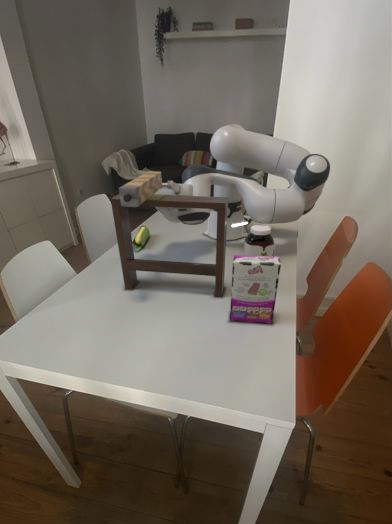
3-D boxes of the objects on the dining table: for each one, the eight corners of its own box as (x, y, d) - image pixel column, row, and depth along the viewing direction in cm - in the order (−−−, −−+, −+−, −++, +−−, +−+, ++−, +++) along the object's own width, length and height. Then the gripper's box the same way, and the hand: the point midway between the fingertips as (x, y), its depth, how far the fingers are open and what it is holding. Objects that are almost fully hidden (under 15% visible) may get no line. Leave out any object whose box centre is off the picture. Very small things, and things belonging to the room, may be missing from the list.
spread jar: (244, 265, 112) (247, 231, 104) (240, 253, 121) (242, 221, 113) (278, 264, 112) (284, 231, 105) (271, 252, 121) (276, 221, 114)
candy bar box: (271, 314, 86) (280, 255, 76) (272, 324, 82) (282, 264, 72) (229, 311, 87) (233, 253, 77) (228, 321, 83) (232, 261, 73)
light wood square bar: (149, 186, 92) (147, 171, 90) (162, 187, 92) (161, 171, 89) (119, 207, 75) (116, 188, 72) (135, 208, 74) (133, 189, 72)
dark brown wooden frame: (131, 280, 103) (118, 192, 87) (223, 287, 98) (228, 196, 82) (125, 289, 98) (110, 198, 82) (221, 297, 94) (225, 202, 78)
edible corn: (151, 235, 138) (150, 224, 135) (143, 252, 122) (142, 240, 120) (139, 234, 138) (138, 224, 136) (130, 252, 123) (128, 240, 120)
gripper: (136, 187, 105) (119, 170, 91) (197, 189, 102) (189, 171, 88) (135, 207, 106) (118, 193, 92) (195, 210, 103) (187, 195, 89)
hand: (153, 182), depth 90 cm, fingers open, 8 cm apart
